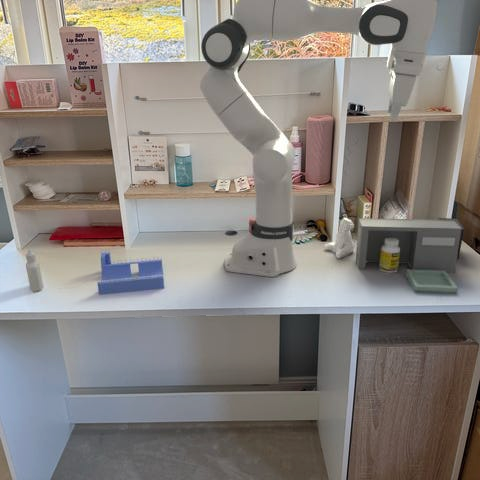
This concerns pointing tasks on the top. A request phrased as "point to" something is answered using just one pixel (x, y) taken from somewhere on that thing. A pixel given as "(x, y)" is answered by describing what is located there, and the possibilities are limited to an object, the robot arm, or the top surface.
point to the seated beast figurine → (342, 240)
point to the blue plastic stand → (129, 276)
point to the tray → (431, 281)
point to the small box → (460, 235)
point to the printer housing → (410, 242)
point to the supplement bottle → (389, 255)
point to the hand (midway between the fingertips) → (391, 116)
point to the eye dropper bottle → (33, 272)
